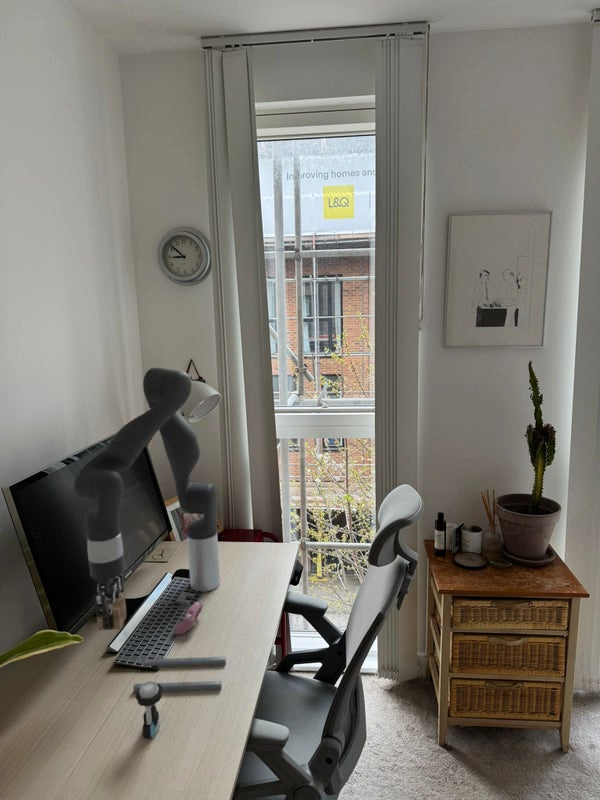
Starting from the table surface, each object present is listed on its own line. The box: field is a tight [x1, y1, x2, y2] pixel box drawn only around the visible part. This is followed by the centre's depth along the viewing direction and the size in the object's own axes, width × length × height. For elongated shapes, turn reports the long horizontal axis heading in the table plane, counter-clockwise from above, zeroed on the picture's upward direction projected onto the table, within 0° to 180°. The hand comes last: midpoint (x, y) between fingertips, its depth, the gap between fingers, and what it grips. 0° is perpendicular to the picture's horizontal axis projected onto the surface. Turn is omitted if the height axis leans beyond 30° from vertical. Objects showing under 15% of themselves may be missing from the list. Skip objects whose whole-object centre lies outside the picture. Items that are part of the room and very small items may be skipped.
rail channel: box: [132, 656, 227, 694], centre depth 127 cm, size 10×20×2 cm, turn 91°
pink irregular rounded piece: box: [173, 601, 204, 636], centre depth 146 cm, size 10×5×7 cm, turn 170°
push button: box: [135, 680, 163, 739], centre depth 111 cm, size 7×5×10 cm
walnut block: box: [96, 596, 128, 631], centre depth 124 cm, size 5×5×5 cm
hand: (112, 620), depth 124 cm, fingers closed on walnut block, 5 cm apart
